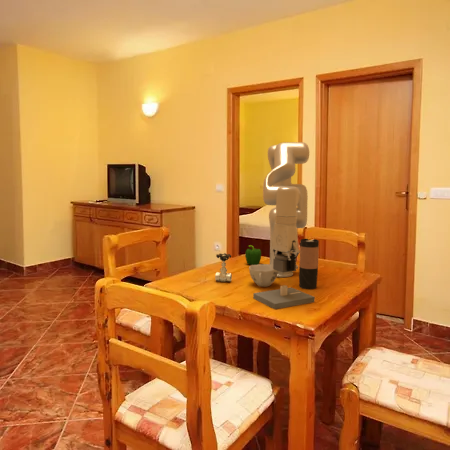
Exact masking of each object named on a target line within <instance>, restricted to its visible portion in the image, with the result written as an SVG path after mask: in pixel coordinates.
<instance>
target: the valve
mask: <svg viewBox="0 0 450 450" xmlns="http://www.w3.org/2000/svg"><path fill="white" fill-rule="evenodd" d="M215 255H216V256H215V257H216V258H217V259H219V261H222V262H221V268H220V269H219V271H220V272H218V271H217V272H216V273H215V281H216V282H221V283H222V282H223V283H226V282H228V283H229V282H230V283H231V282H232V273H231V272H228V268H226V267H227V261H228V260H229V259H231V258H232V255H231V253H226V252H225V253H216V254H215Z"/></svg>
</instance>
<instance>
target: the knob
mask: <svg viewBox="0 0 450 450" xmlns="http://www.w3.org/2000/svg"><path fill="white" fill-rule="evenodd" d="M291 255H292V253H291V254H290V256H291ZM287 260H288V257H287V254H277V255H276V259H273V269H274V270H277V271H280V272H283V273H284V272H296V271H297V269H296V265H297V259H296V260H295V270H294V271H287Z"/></svg>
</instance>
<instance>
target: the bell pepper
mask: <svg viewBox="0 0 450 450" xmlns="http://www.w3.org/2000/svg"><path fill="white" fill-rule="evenodd" d="M248 247H249V248H247V249H246V250H245V254H244V255H245V260H246V263H247V265H249V266H251V265H258V264H260V263H261V259H262V251H261V249H260V248H255V247H254V246H253V245H251V244H250V245H248Z"/></svg>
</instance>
